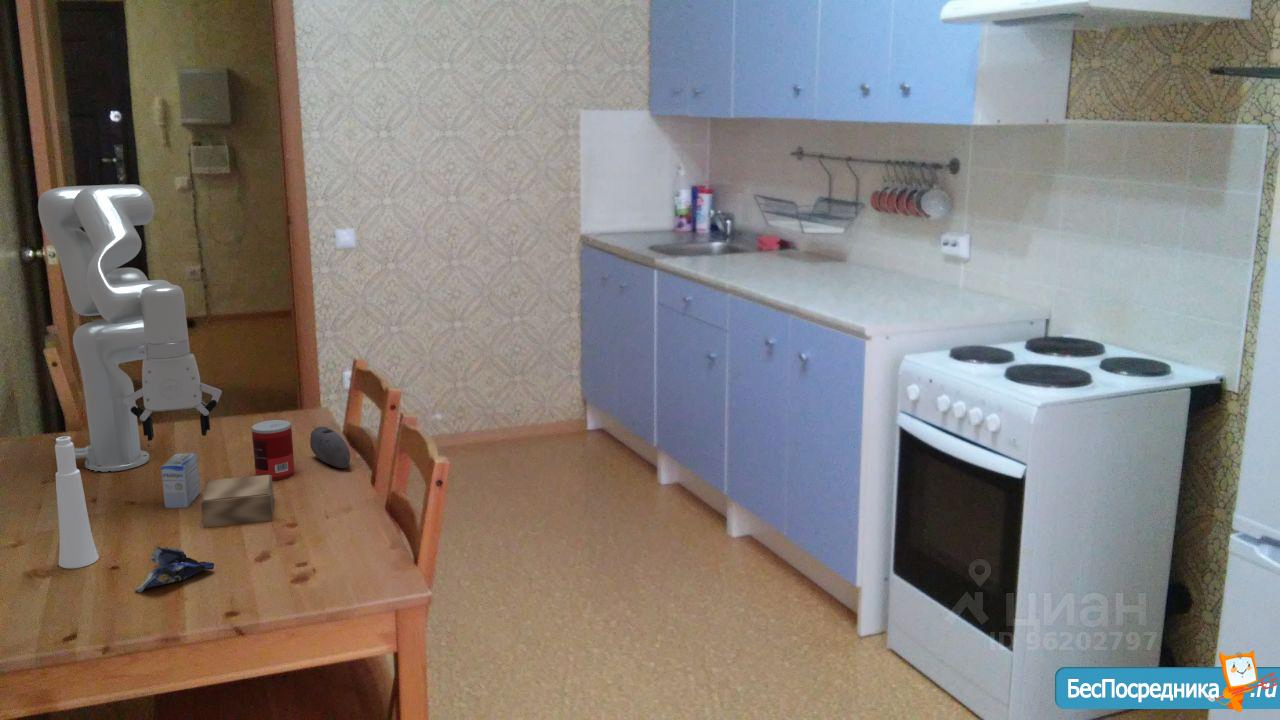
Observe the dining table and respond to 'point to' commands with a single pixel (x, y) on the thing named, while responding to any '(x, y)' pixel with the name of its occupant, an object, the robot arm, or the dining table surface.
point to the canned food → (273, 449)
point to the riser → (237, 501)
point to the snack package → (172, 567)
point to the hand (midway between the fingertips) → (177, 436)
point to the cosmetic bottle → (72, 511)
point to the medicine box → (180, 480)
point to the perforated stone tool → (330, 447)
